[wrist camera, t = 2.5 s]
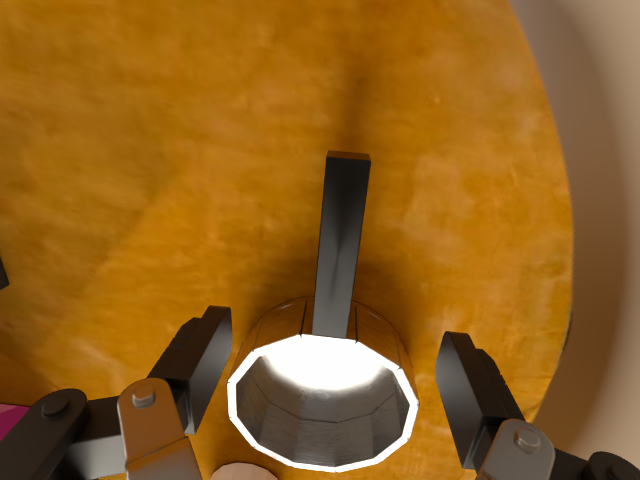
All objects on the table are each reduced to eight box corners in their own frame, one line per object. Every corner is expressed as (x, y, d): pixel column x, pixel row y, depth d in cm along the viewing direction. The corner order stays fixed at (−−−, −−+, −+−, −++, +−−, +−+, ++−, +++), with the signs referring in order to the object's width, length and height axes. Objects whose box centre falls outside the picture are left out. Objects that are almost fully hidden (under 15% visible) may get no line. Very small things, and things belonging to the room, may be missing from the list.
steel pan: (392, 428, 28) (398, 480, 24) (245, 410, 29) (230, 459, 25) (459, 153, 19) (486, 171, 15) (240, 133, 19) (215, 146, 16)
